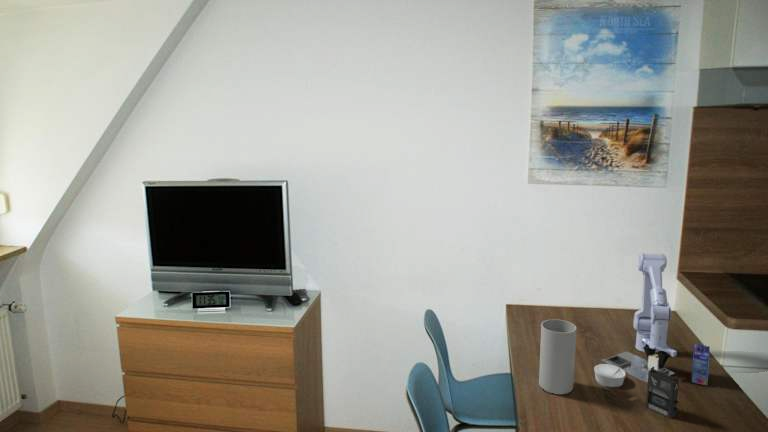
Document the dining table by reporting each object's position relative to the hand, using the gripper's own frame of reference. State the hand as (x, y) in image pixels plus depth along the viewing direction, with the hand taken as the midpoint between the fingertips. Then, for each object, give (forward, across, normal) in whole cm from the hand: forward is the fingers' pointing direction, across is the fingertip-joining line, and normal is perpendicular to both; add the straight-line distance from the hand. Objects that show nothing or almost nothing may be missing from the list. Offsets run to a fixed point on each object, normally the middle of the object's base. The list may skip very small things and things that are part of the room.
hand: (655, 365), depth 206 cm
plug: (+2, 0, 0) cm, 2 cm away
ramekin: (+3, -4, -22) cm, 23 cm away
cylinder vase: (+3, -12, -42) cm, 44 cm away
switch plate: (+3, -6, -3) cm, 7 cm away
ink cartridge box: (+3, +11, +11) cm, 16 cm away
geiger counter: (+3, +18, -22) cm, 29 cm away
